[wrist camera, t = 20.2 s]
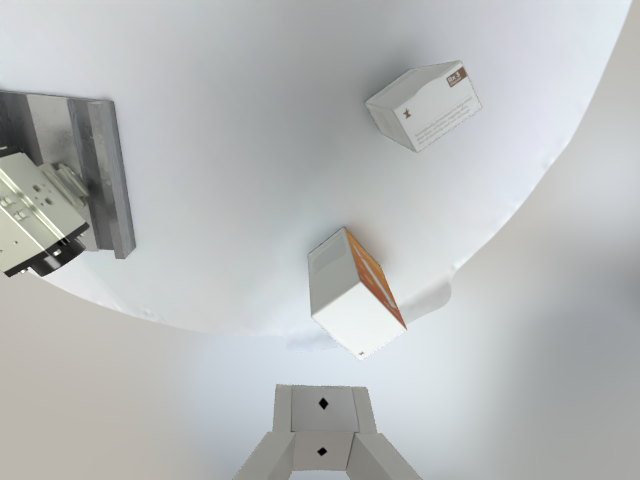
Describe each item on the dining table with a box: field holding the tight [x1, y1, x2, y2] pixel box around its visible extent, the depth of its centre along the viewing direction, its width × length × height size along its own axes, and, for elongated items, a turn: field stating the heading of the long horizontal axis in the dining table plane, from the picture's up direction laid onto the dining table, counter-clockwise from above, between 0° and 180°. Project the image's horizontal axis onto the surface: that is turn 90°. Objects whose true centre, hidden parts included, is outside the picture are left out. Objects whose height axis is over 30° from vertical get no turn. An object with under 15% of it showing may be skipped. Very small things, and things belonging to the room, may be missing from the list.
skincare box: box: [364, 60, 482, 153], centre depth 31 cm, size 6×4×12 cm
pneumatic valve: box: [0, 146, 90, 277], centre depth 31 cm, size 6×12×12 cm, turn 26°
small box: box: [308, 227, 407, 361], centre depth 39 cm, size 8×6×13 cm
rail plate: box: [0, 90, 136, 259], centre depth 37 cm, size 17×11×3 cm, turn 174°
